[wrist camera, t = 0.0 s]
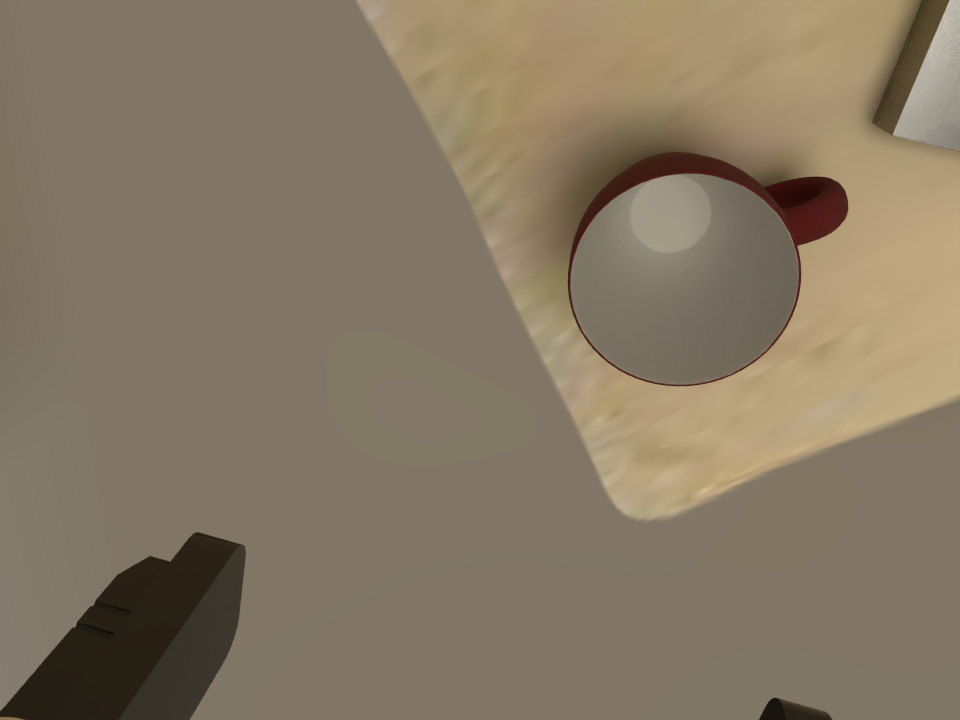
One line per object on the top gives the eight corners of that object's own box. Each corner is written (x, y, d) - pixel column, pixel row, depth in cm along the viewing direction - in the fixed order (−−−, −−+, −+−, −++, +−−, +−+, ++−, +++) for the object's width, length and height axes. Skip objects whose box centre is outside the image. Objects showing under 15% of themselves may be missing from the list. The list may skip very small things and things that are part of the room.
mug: (780, 62, 35) (832, 92, 26) (842, 232, 38) (909, 313, 29) (552, 170, 39) (529, 229, 30) (623, 320, 41) (621, 417, 32)
